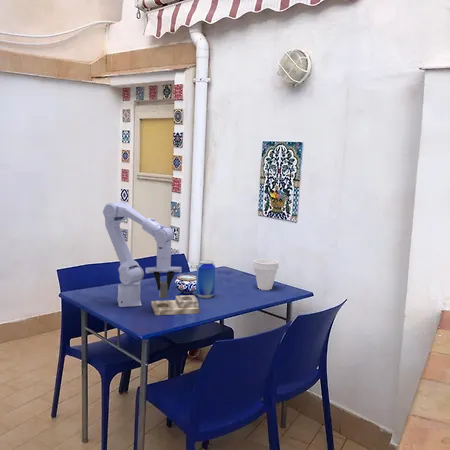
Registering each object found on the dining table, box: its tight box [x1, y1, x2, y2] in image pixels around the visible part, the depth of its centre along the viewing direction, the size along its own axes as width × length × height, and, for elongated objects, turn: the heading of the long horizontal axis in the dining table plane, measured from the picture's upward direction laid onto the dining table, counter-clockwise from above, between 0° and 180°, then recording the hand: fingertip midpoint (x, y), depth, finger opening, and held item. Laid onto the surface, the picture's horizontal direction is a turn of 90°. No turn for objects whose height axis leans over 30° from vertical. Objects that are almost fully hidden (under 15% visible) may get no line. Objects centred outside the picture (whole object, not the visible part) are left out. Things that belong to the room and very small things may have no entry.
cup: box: [253, 258, 280, 291], centre depth 252 cm, size 12×12×14 cm
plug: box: [158, 280, 169, 299], centre depth 212 cm, size 3×4×6 cm
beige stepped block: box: [150, 294, 200, 316], centre depth 214 cm, size 18×13×4 cm
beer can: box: [195, 259, 216, 299], centre depth 235 cm, size 8×8×16 cm
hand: (163, 289), depth 212 cm, fingers closed on plug, 3 cm apart
